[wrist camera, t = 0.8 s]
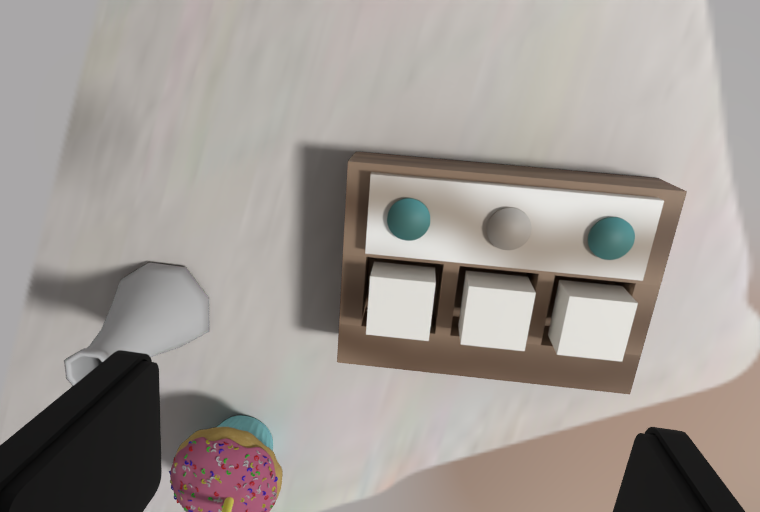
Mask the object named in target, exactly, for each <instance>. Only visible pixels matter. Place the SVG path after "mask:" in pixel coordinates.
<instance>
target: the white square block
mask: <svg viewBox="0 0 760 512" xmlns="http://www.w3.org/2000/svg"><path fill="white" fill-rule="evenodd" d="M637 305H638V303H637V302H636V300H635V299H634V298H633V297H632V296H631V295H630V294H629V293H628V292H627V291H626V289H625V288H624V287H623V286H617V285H606V284H596V283H586V282H576V281H566V280H559V283H558V288H557V293H556V298H555V303H554V307H553V312H552V317H551V322H550V327H549V331H548V336H549V339H550V341H551V343H552V345H553V347H554V349H555V352H556V354H557V355H564V356H573V357H583V358H592V359H602V360H611V361H621V362H622V361H623V357H624V353H625V350H626V346H627V342H628V338H629V335H630V331H631V327H632V324H633V320H634V316H635V312H636V309H637Z"/></svg>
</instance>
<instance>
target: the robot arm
mask: <svg viewBox="0 0 760 512" xmlns="http://www.w3.org/2000/svg"><path fill="white" fill-rule="evenodd" d="M160 480H161V435H160V396H159V368H158V365H157V364H156V363H154V362H152V361H151V358H150V356H149V355H148V354H144V353H137V352H130V351H123V350H118V351H116V352H114V353H113V354H112V355H110V356H109V357H108V358H107V359H106V360H104V361H103V362H102V363H101V364H99V365H98V366H97V367H96V368H95V369H93V370H92V371H91V372H90V373H88V374H87V375H86V376H85V377H84V378H82V379H81V380H80V381H79V382H77V383H76V384H75V385H74V386H72V387H71V388H70V389H69V390H68V391H66V392H65V393H64V394H63V395H61V396H60V397H59V398H58V399H57V400H55V401H54V402H53V403H52V404H50V405H49V406H48V407H47V408H46V409H44V410H43V411H42V412H41V413H39V414H38V415H37V416H36V417H35V418H33V419H32V420H31V421H30V422H28V423H27V424H26V425H25V426H24V427H22V428H21V429H20V430H19V431H17V432H16V433H15V434H14V435H13V436H11V437H10V438H9V439H8V440H6V441H5V442H4V443H3V444H2V445H0V512H143V511H144V509H145V508H146V506H147V505H148V503H149V502H150V501H151V499H152V498H153V496H154V495H155V493H156V491H157V489H158V487H159V484H160ZM613 512H745V511H744V510H743V508H742V507H741V506H740V504H739V503H738V501H737V500H736V499H735V497H734V496H733V495H732V493H731V492H730V491H729V489H728V488H727V487H726V485H725V484H724V483H723V482H722V480H721V479H720V477H719V476H718V475H717V474H716V472H715V471H714V470H713V468H712V467H711V466H710V464H709V463H708V462H707V460H706V459H705V458H704V456H703V455H702V454H701V452H700V451H699V450H698V449H697V447H696V446H695V444H694V443H693V442H692V440H691V439H690V438H689V436H688V435H687V434H686V433H685V432H682V431H677V430H670V429H663V428H656V427H650V428H648V429H647V431H646V432H645V434H643V433H640V434H638V435H637V436H636V438H635V440H634V444H633V447H632V450H631V454H630V457H629V460H628V463H627V467H626V470H625V473H624V477H623V480H622V483H621V487H620V490H619V493H618V497H617V500H616V503H615V506H614V510H613Z"/></svg>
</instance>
